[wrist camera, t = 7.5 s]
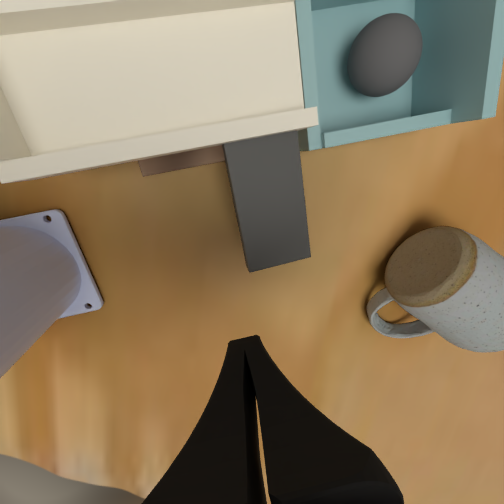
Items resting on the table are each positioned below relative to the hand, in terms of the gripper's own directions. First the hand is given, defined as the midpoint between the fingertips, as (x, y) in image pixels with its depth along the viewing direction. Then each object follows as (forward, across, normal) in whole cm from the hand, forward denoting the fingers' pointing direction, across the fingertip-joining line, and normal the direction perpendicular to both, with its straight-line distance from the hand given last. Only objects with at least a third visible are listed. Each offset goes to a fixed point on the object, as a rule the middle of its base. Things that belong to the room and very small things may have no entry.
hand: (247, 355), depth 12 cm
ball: (+8, -11, -12) cm, 18 cm away
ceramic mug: (+11, -16, +5) cm, 20 cm away
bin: (+11, -11, -12) cm, 19 cm away
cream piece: (+6, +2, -8) cm, 10 cm away
